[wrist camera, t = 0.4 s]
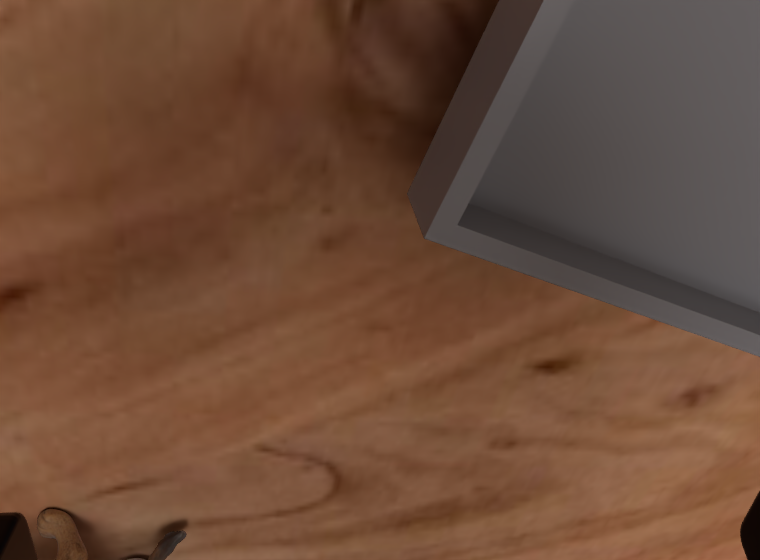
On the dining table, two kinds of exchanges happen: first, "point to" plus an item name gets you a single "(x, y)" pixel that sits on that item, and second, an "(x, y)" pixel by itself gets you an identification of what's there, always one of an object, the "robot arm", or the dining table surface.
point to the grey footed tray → (611, 157)
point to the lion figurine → (72, 548)
